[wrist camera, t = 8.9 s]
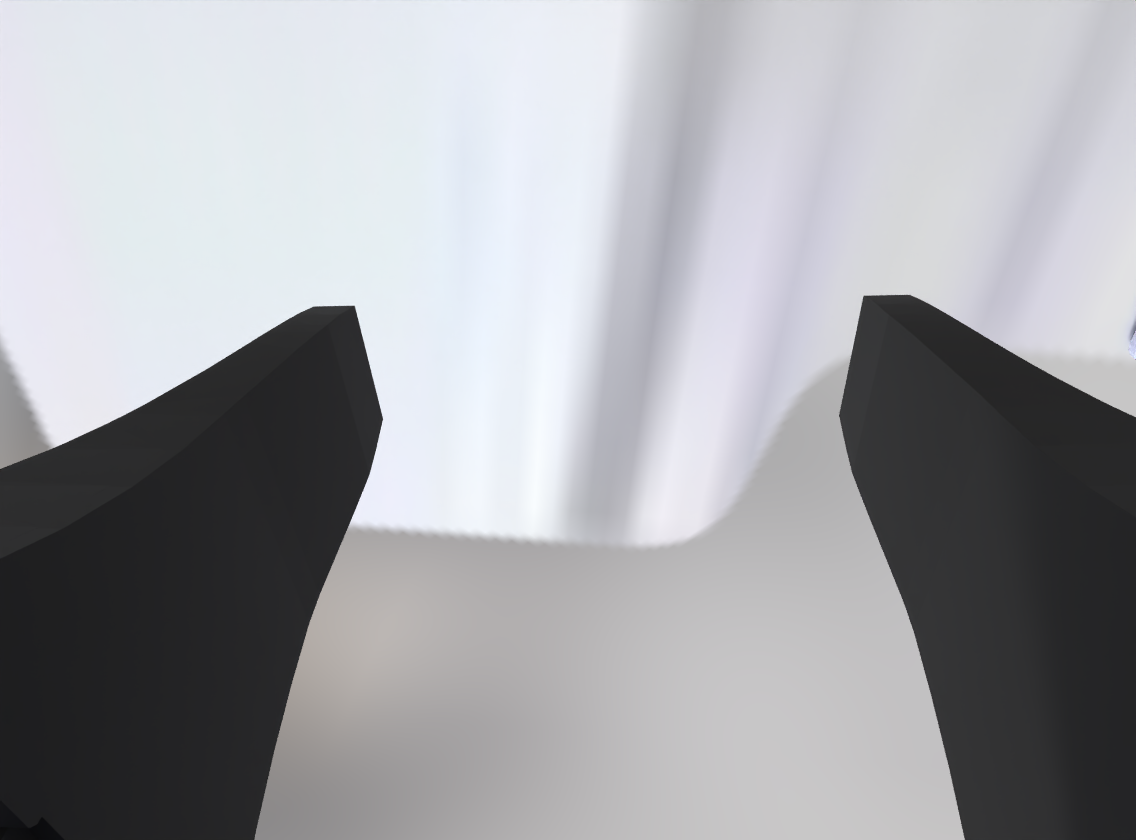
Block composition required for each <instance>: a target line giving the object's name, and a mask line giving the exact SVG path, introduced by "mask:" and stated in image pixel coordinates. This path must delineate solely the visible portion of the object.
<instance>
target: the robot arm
mask: <svg viewBox="0 0 1136 840" xmlns="http://www.w3.org/2000/svg"><path fill="white" fill-rule="evenodd" d="M1128 350H1129V352H1130V355H1131V356H1132V357H1133V358H1134V359H1135V360H1136V331H1135V333H1134V335H1133V338H1132V340H1131V342H1130V345H1129V349H1128ZM839 417H840V421H841V426H842V431H843V436H844V440H845V444H846V449H847V453H848V458H849V462H850V466H851V470H852V473H853V476H854V479H855V481H856V484H857V487H858V489H859V492H860V494H861V497H862V500H863V502H864V505H865V507H866V510H867V512H868V515H869V517H870V520H871V522H872V525H873V527H874V530H875V532H876V534H877V537H878V540H879V542H880V545H881V547H882V550H883V552H884V554H885V557H886V559H887V562H888V564H889V567H890V569H891V572H892V574H893V577H894V579H895V582H896V584H897V587H898V589H899V592H900V594H901V596H902V599H903V602H904V604H905V607H906V610H907V613H908V616H909V619H910V622H911V624H912V628H913V630H914V634H915V637H916V641H917V645H918V648H919V652H920V655H921V659H922V663H923V667H924V670H925V674H926V678H927V681H928V685H929V688H930V692H931V696H932V699H933V704H934V708H935V712H936V716H937V720H938V724H939V728H940V733H941V736H942V741H943V745H944V748H945V753H946V757H947V760H948V765H949V769H950V774H951V778H952V783H953V787H954V792H955V796H956V800H957V805H958V810H959V815H960V819H961V824H962V829H963V833H964V838H965V840H1136V417H1134V416H1132V415H1129V414H1127V413H1125V412H1123V411H1121V410H1119V409H1117V408H1114V407H1112V406H1110V405H1108V404H1106V403H1104V402H1102V401H1100V400H1098V399H1096V398H1094V397H1092V396H1090V395H1088V394H1087V393H1085V392H1083V391H1081V390H1079V389H1077V388H1075V387H1073V386H1071V385H1069V384H1067V383H1065V382H1063V381H1061V380H1059V379H1057V378H1056V377H1054V376H1052V375H1050V374H1048V373H1047V372H1045V371H1043V370H1041V369H1039V368H1038V367H1036V366H1034V365H1032V364H1030V363H1029V362H1027V361H1025V360H1023V359H1022V358H1020V357H1018V356H1016V355H1015V354H1013V353H1011V352H1010V351H1008V350H1006V349H1005V348H1003V347H1001V346H999V345H998V344H996V343H994V342H993V341H991V340H989V339H988V338H986V337H984V336H983V335H981V334H979V333H978V332H976V331H974V330H973V329H971V328H969V327H968V326H966V325H964V324H963V323H961V322H959V321H958V320H956V319H954V318H953V317H951V316H949V315H947V314H946V313H944V312H942V311H941V310H939V309H937V308H935V307H933V306H932V305H930V304H928V303H926V302H924V301H922V300H920V299H918V298H916V297H913V296H911V295H879V296H864V297H863V302H862V306H861V311H860V316H859V321H858V326H857V331H856V336H855V341H854V345H853V350H852V355H851V360H850V365H849V370H848V375H847V380H846V385H845V389H844V395H843V399H842V404H841V409H840V414H839ZM382 421H383V417H382V413H381V409H380V405H379V401H378V397H377V393H376V389H375V385H374V381H373V377H372V373H371V369H370V365H369V361H368V357H367V353H366V349H365V345H364V341H363V337H362V333H361V329H360V325H359V321H358V317H357V313H356V309H355V306H319V307H312V308H310V309H308V310H305V311H303V312H301V313H299V314H297V315H295V316H294V317H292V318H290V319H288V320H286V321H285V322H283V323H281V324H280V325H278V326H276V327H275V328H273V329H271V330H270V331H268V332H266V333H265V334H263V335H262V336H260V337H258V338H257V339H255V340H253V341H252V342H250V343H249V344H247V345H245V346H244V347H242V348H241V349H239V350H237V351H236V352H234V353H232V354H231V355H229V356H228V357H226V358H224V359H223V360H221V361H219V362H218V363H216V364H215V365H213V366H211V367H210V368H208V369H206V370H205V371H203V372H201V373H199V374H198V375H196V376H194V377H192V378H191V379H189V380H187V381H185V382H184V383H182V384H180V385H178V386H177V387H175V388H173V389H171V390H170V391H168V392H166V393H164V394H163V395H161V396H159V397H157V398H156V399H154V400H152V401H150V402H148V403H147V404H145V405H143V406H141V407H139V408H137V409H135V410H133V411H132V412H130V413H128V414H126V415H124V416H122V417H120V418H118V419H116V420H114V421H112V422H110V423H108V424H106V425H103V426H101V427H99V428H97V429H95V430H93V431H90V432H88V433H86V434H84V435H82V436H80V437H78V438H75V439H73V440H71V441H69V442H67V443H64V444H62V445H60V446H57V447H55V448H53V449H50V450H48V451H45V452H43V453H40V454H38V455H35V456H33V457H30V458H27V459H25V460H22V461H20V462H17V463H15V464H12V465H10V466H7V467H4V468H2V469H0V840H254V838H255V833H256V828H257V824H258V819H259V815H260V811H261V806H262V802H263V798H264V793H265V789H266V784H267V779H268V776H269V771H270V767H271V762H272V758H273V754H274V750H275V745H276V742H277V738H278V734H279V730H280V726H281V722H282V719H283V715H284V711H285V707H286V703H287V699H288V696H289V692H290V688H291V684H292V680H293V677H294V673H295V670H296V667H297V663H298V660H299V656H300V653H301V649H302V646H303V643H304V639H305V636H306V632H307V628H308V625H309V622H310V620H311V617H312V614H313V611H314V609H315V606H316V603H317V600H318V598H319V595H320V592H321V590H322V588H323V585H324V583H325V581H326V578H327V576H328V573H329V571H330V569H331V566H332V564H333V562H334V559H335V557H336V554H337V552H338V550H339V547H340V545H341V542H342V540H343V538H344V535H345V533H346V531H347V528H348V526H349V524H350V521H351V519H352V516H353V514H354V512H355V509H356V507H357V504H358V502H359V499H360V497H361V494H362V492H363V489H364V487H365V484H366V482H367V479H368V477H369V474H370V470H371V467H372V463H373V459H374V455H375V451H376V447H377V443H378V438H379V434H380V430H381V425H382Z"/></svg>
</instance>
